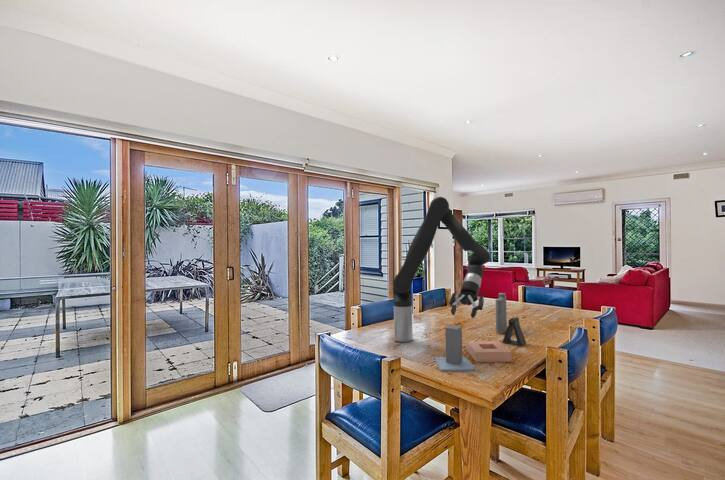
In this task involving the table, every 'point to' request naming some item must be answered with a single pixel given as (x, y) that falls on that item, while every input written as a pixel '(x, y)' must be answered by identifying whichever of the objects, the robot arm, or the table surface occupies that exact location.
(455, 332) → the charcoal post
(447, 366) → the slate pad
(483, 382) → the table surface
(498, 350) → the terracotta cradle
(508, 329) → the dark grey triangular frame
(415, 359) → the table surface
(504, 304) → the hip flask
